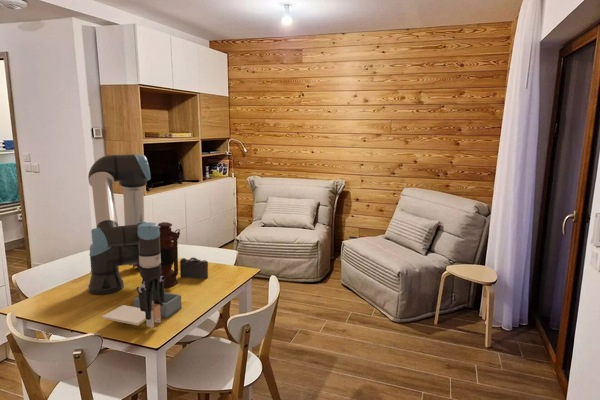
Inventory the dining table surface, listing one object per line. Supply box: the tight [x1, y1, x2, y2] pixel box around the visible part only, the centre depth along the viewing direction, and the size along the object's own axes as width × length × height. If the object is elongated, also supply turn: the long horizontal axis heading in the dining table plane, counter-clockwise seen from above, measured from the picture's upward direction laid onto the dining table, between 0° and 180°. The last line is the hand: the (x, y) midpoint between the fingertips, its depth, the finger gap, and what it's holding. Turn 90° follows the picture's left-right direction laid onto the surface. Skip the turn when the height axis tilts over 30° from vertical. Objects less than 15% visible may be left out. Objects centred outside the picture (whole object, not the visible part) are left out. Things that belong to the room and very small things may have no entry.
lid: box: [101, 303, 161, 326], centre depth 156 cm, size 21×11×7 cm, turn 71°
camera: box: [179, 257, 209, 280], centre depth 210 cm, size 14×11×10 cm
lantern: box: [157, 221, 181, 289], centre depth 196 cm, size 17×14×30 cm
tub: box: [133, 291, 183, 319], centre depth 169 cm, size 16×10×6 cm, turn 71°
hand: (153, 324), depth 153 cm, fingers closed on lid, 3 cm apart
